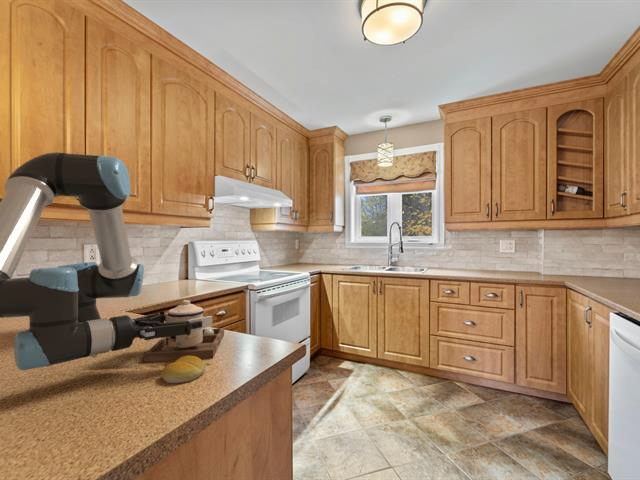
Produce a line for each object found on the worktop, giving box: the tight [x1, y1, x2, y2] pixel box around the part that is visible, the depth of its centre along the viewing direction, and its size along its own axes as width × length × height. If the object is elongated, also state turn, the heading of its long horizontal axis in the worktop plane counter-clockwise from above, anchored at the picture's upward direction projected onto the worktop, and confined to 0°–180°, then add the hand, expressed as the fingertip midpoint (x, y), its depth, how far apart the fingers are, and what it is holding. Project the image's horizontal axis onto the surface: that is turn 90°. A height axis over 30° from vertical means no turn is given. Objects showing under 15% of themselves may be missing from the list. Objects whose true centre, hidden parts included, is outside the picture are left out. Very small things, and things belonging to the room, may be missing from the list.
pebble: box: [204, 328, 214, 335], centre depth 96 cm, size 3×3×3 cm
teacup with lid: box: [167, 299, 204, 348], centre depth 86 cm, size 12×9×12 cm
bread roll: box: [161, 356, 206, 384], centre depth 72 cm, size 8×9×4 cm
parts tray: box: [144, 327, 225, 363], centre depth 89 cm, size 21×16×3 cm
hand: (199, 317), depth 89 cm, fingers closed on teacup with lid, 12 cm apart
